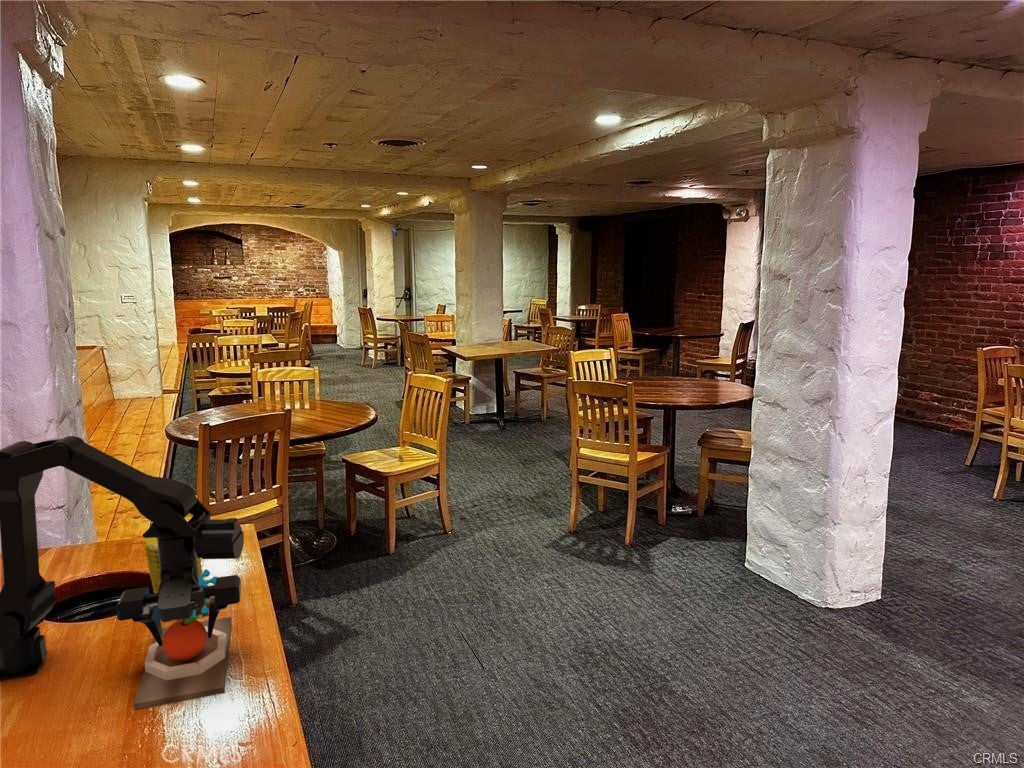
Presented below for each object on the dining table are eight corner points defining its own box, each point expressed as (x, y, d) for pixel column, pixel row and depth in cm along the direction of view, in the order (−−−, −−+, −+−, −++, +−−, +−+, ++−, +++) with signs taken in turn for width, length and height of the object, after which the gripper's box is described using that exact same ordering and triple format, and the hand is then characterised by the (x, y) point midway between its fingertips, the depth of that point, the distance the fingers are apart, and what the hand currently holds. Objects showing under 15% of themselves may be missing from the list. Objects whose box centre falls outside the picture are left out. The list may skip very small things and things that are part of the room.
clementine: (197, 638, 122) (195, 603, 121) (221, 651, 118) (219, 614, 117) (155, 660, 115) (152, 623, 114) (179, 674, 112) (176, 636, 110)
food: (213, 593, 142) (175, 619, 133) (171, 572, 146) (131, 596, 136) (218, 533, 137) (179, 555, 128) (174, 512, 141) (133, 533, 132)
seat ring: (141, 684, 109) (140, 676, 109) (154, 642, 120) (153, 634, 120) (223, 670, 113) (222, 661, 113) (228, 630, 125) (227, 622, 124)
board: (134, 709, 105) (133, 704, 105) (156, 633, 125) (156, 628, 125) (224, 692, 109) (223, 687, 109) (231, 621, 129) (231, 616, 129)
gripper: (104, 589, 102) (114, 679, 106) (235, 572, 109) (241, 657, 112) (119, 558, 113) (128, 640, 116) (238, 543, 119) (243, 622, 122)
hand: (185, 640), depth 116 cm, fingers open, 7 cm apart
